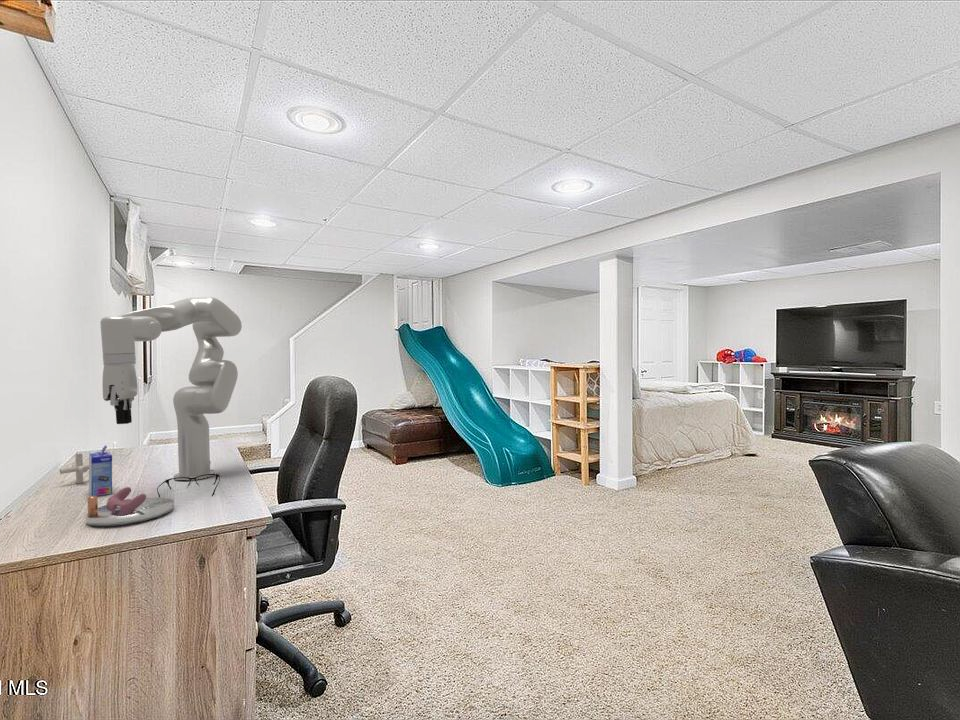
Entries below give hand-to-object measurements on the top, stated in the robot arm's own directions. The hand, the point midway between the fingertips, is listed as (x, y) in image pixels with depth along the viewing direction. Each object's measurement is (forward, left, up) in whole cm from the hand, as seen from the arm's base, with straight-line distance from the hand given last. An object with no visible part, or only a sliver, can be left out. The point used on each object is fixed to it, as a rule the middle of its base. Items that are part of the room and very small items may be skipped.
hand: (124, 423), depth 141 cm
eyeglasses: (-8, +14, -24) cm, 29 cm away
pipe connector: (-30, -28, -24) cm, 47 cm away
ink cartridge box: (-15, -14, -24) cm, 31 cm away
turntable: (+12, +7, -23) cm, 27 cm away
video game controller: (+12, +8, -20) cm, 25 cm away
